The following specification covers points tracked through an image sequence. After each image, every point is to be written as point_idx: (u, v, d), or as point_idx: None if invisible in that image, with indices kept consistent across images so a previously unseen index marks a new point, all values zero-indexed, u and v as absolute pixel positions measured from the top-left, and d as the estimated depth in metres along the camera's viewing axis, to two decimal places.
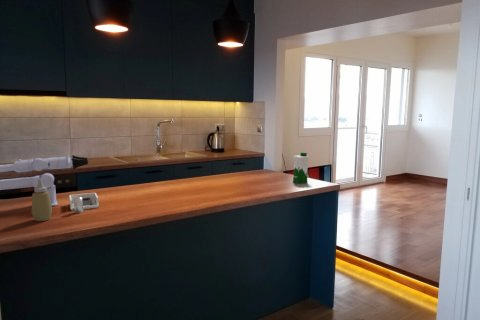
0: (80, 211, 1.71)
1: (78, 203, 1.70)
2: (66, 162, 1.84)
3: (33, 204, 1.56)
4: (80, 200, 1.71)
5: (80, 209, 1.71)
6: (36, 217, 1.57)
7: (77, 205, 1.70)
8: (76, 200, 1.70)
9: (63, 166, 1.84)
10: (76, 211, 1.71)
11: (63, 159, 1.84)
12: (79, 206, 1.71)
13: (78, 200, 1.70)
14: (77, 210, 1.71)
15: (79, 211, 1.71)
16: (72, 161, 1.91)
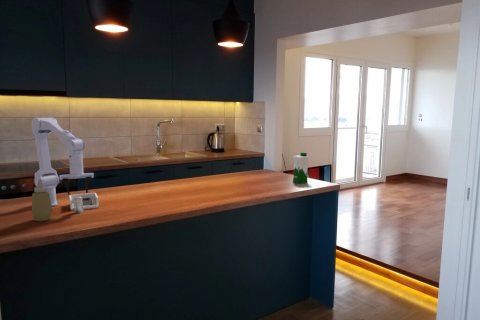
0: (80, 211, 1.71)
1: (78, 203, 1.70)
2: (70, 173, 1.68)
3: (33, 204, 1.56)
4: (80, 200, 1.71)
5: (80, 209, 1.71)
6: (36, 217, 1.57)
7: (77, 205, 1.70)
8: (76, 200, 1.70)
9: None
10: (76, 211, 1.71)
11: (72, 170, 1.67)
12: (79, 206, 1.71)
13: (78, 200, 1.70)
14: (77, 210, 1.71)
15: (79, 211, 1.71)
16: (86, 177, 1.72)
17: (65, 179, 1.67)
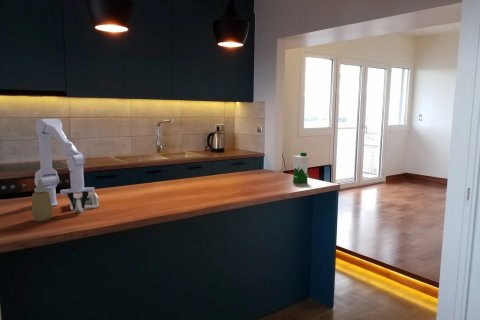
0: (80, 211, 1.71)
1: (78, 203, 1.70)
2: (71, 188, 1.69)
3: (33, 204, 1.56)
4: (80, 200, 1.71)
5: (80, 209, 1.71)
6: (36, 217, 1.57)
7: (77, 205, 1.70)
8: (76, 200, 1.70)
9: None
10: (76, 211, 1.71)
11: (72, 185, 1.68)
12: (79, 206, 1.71)
13: (78, 200, 1.70)
14: (77, 210, 1.71)
15: (79, 211, 1.71)
16: None
17: None
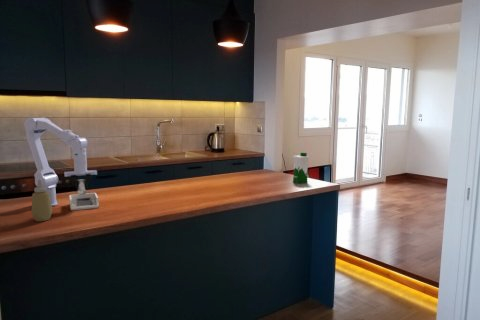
0: (83, 193, 1.78)
1: (81, 185, 1.77)
2: (74, 170, 1.76)
3: (33, 204, 1.56)
4: (83, 182, 1.77)
5: (83, 191, 1.78)
6: (36, 217, 1.57)
7: (80, 187, 1.77)
8: (79, 182, 1.77)
9: None
10: (79, 193, 1.78)
11: (76, 168, 1.75)
12: (82, 188, 1.77)
13: (81, 182, 1.77)
14: (80, 192, 1.77)
15: (82, 192, 1.78)
16: None
17: None
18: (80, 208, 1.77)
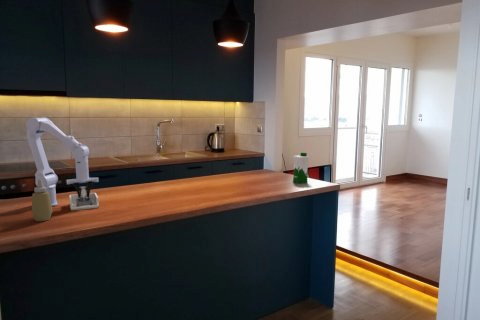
0: (85, 200, 1.81)
1: (83, 192, 1.80)
2: (76, 178, 1.79)
3: (33, 204, 1.56)
4: (85, 189, 1.81)
5: (85, 198, 1.81)
6: (36, 217, 1.57)
7: (82, 194, 1.80)
8: (81, 189, 1.80)
9: None
10: (81, 200, 1.81)
11: (78, 175, 1.78)
12: (84, 195, 1.81)
13: (83, 189, 1.80)
14: (83, 199, 1.81)
15: (84, 200, 1.81)
16: None
17: (72, 183, 1.79)
18: (80, 208, 1.77)
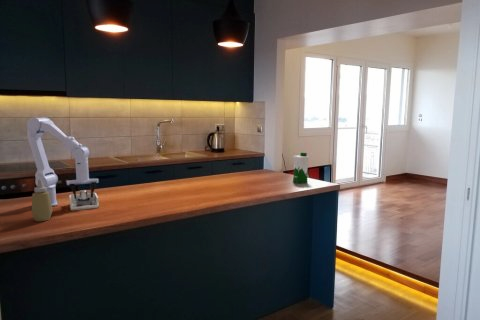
0: None
1: (83, 195, 1.81)
2: (76, 179, 1.79)
3: (33, 204, 1.56)
4: (85, 193, 1.81)
5: None
6: (36, 217, 1.57)
7: (82, 198, 1.81)
8: (81, 193, 1.80)
9: None
10: None
11: (78, 176, 1.78)
12: (84, 199, 1.81)
13: (83, 193, 1.81)
14: None
15: None
16: (91, 183, 1.84)
17: (72, 184, 1.79)
18: (80, 208, 1.77)
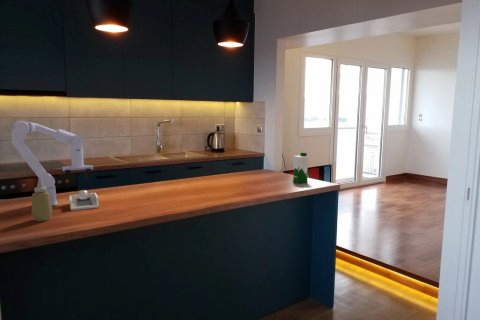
0: None
1: (83, 196, 1.81)
2: None
3: (33, 204, 1.56)
4: (85, 193, 1.81)
5: None
6: (36, 217, 1.57)
7: (82, 198, 1.81)
8: (81, 193, 1.80)
9: None
10: None
11: (73, 163, 1.88)
12: (84, 199, 1.81)
13: (83, 193, 1.80)
14: None
15: None
16: (86, 169, 1.93)
17: (67, 170, 1.88)
18: (80, 208, 1.77)
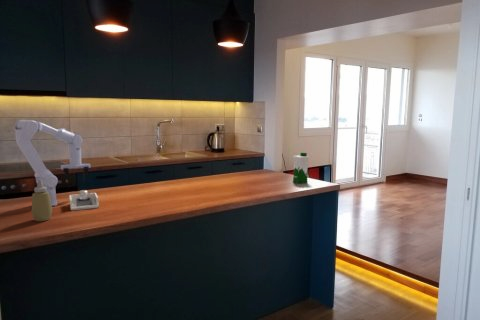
0: None
1: (83, 195, 1.81)
2: (70, 163, 1.94)
3: (33, 204, 1.56)
4: (85, 193, 1.81)
5: None
6: (36, 217, 1.57)
7: (82, 198, 1.81)
8: (81, 193, 1.80)
9: None
10: None
11: (71, 161, 1.93)
12: (84, 199, 1.81)
13: (83, 193, 1.80)
14: None
15: None
16: None
17: (65, 169, 1.93)
18: (80, 208, 1.77)
